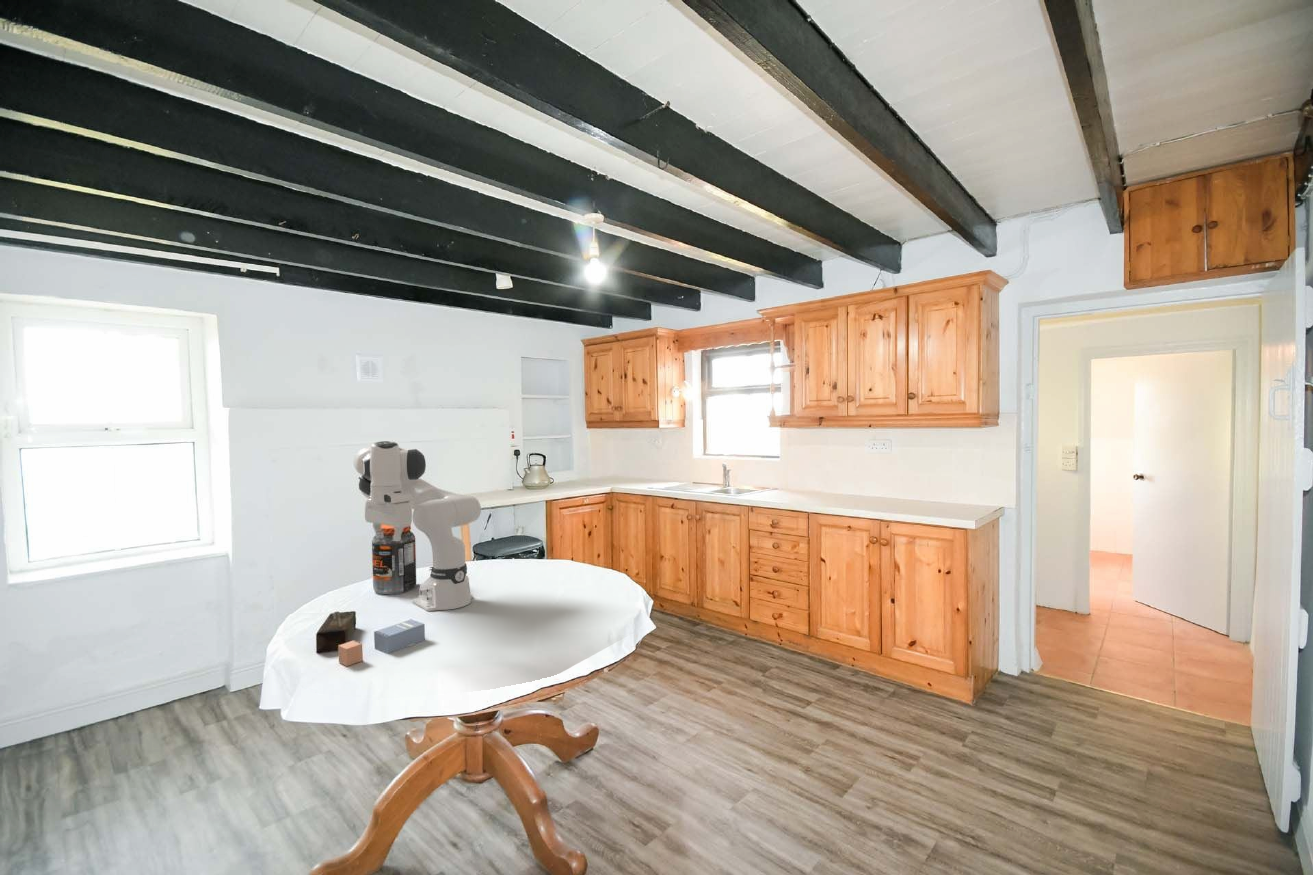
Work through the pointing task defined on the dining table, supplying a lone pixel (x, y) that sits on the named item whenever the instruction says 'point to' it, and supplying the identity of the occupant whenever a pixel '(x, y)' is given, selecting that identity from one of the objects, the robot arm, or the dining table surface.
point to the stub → (350, 652)
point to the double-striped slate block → (399, 636)
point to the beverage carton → (335, 631)
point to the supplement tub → (394, 561)
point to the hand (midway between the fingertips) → (388, 539)
